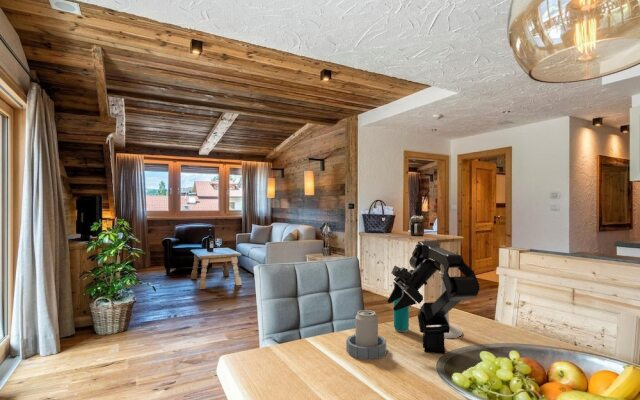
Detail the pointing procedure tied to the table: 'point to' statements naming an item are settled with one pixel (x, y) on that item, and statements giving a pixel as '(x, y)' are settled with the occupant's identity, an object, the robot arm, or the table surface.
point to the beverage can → (401, 318)
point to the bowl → (365, 349)
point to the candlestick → (453, 331)
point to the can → (366, 328)
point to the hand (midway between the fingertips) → (390, 305)
